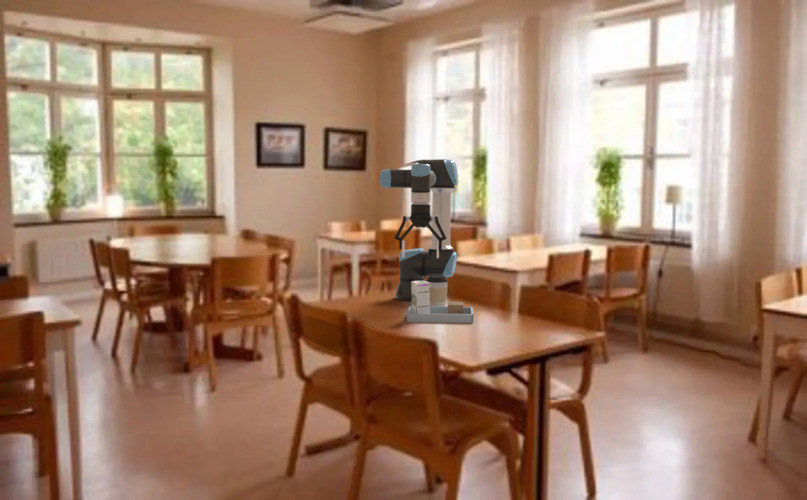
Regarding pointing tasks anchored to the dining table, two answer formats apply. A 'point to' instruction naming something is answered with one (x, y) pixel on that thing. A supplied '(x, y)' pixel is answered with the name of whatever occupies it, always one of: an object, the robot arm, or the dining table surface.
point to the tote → (441, 315)
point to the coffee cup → (437, 290)
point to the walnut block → (455, 307)
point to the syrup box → (420, 297)
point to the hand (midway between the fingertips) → (420, 257)
